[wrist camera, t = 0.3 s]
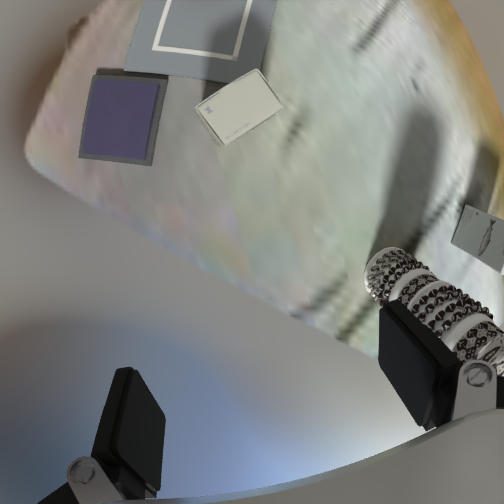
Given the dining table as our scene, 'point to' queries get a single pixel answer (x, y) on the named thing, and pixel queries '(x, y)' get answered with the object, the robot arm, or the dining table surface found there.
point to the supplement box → (481, 237)
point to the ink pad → (122, 119)
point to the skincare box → (239, 107)
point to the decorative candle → (436, 306)
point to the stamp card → (200, 38)
